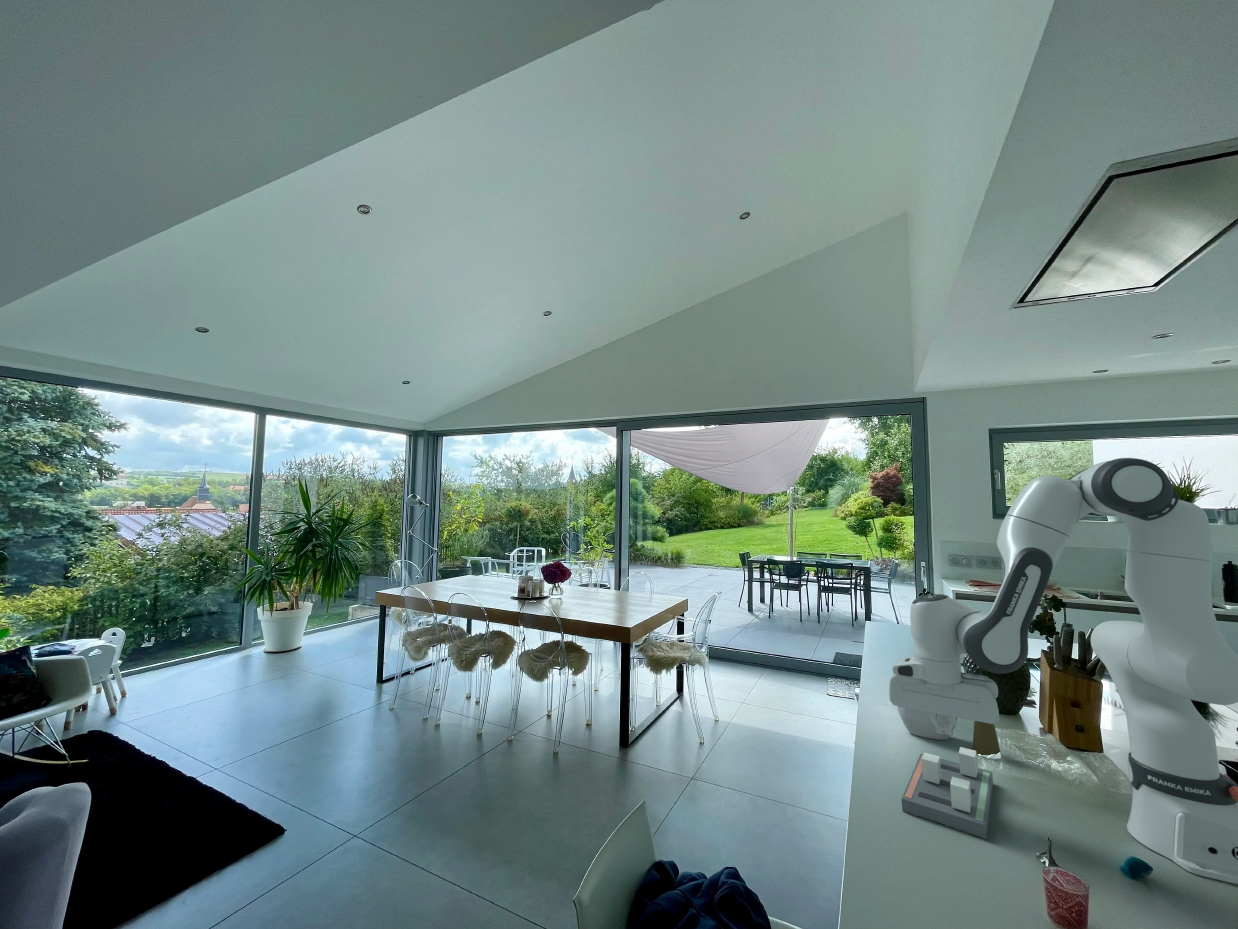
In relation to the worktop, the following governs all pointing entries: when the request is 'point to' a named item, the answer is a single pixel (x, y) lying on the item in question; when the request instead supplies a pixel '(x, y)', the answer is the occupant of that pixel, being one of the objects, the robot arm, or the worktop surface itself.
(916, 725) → the soap bottle
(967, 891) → the worktop surface
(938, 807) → the switch board
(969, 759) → the switch
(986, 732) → the cork
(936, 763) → the switch
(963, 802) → the switch
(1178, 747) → the robot arm
